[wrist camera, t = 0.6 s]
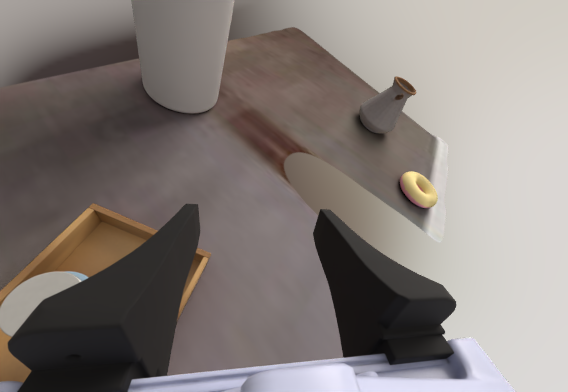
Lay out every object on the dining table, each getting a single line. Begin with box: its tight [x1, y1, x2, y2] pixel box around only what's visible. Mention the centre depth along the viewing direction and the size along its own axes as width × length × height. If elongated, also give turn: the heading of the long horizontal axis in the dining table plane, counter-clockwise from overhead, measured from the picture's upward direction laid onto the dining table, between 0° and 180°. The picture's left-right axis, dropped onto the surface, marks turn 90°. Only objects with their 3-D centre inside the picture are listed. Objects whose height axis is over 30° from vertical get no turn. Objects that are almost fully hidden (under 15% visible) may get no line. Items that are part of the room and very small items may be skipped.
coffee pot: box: [360, 77, 416, 133], centre depth 55 cm, size 21×12×15 cm, turn 145°
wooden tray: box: [0, 203, 211, 383], centre depth 20 cm, size 15×13×4 cm
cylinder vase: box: [131, 0, 234, 113], centre depth 31 cm, size 12×12×25 cm
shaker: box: [0, 271, 89, 338], centre depth 17 cm, size 4×4×9 cm
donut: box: [400, 172, 438, 208], centre depth 53 cm, size 10×5×9 cm
